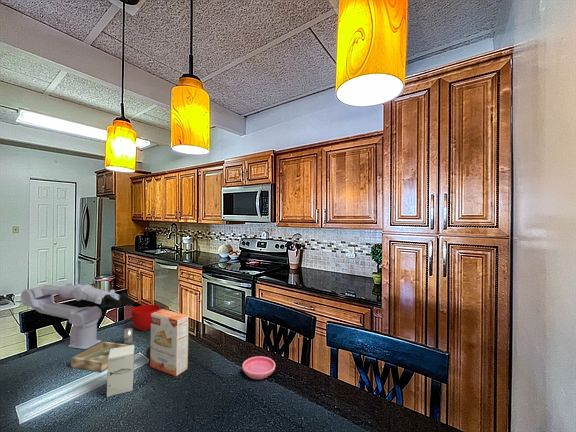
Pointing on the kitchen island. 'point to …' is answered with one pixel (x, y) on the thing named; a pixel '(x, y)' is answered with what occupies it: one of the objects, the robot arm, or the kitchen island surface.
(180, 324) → the cracker box
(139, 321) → the red bowl
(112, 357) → the supplement box
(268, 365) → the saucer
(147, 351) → the bolt
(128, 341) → the peg
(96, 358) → the open box
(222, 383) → the kitchen island surface
